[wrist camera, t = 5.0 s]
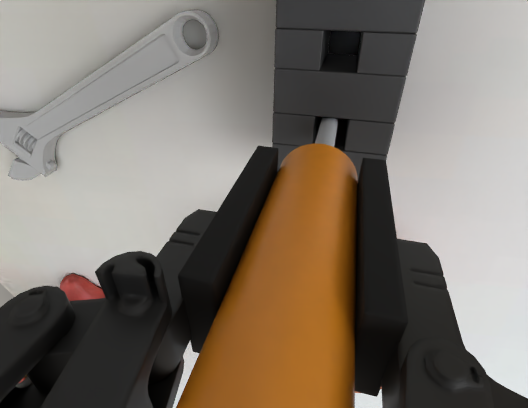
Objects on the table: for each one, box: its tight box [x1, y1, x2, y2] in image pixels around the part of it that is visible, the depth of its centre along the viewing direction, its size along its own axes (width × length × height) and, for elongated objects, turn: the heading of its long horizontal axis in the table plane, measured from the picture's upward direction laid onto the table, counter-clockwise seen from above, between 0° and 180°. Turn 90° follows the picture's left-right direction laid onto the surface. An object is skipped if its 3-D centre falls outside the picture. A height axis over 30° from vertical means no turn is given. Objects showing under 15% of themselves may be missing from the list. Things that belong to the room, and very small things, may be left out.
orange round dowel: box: [176, 117, 357, 408], centre depth 11 cm, size 3×3×16 cm
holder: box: [272, 0, 425, 184], centre depth 17 cm, size 14×6×5 cm, turn 179°
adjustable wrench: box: [0, 10, 218, 180], centre depth 25 cm, size 25×6×2 cm, turn 112°
